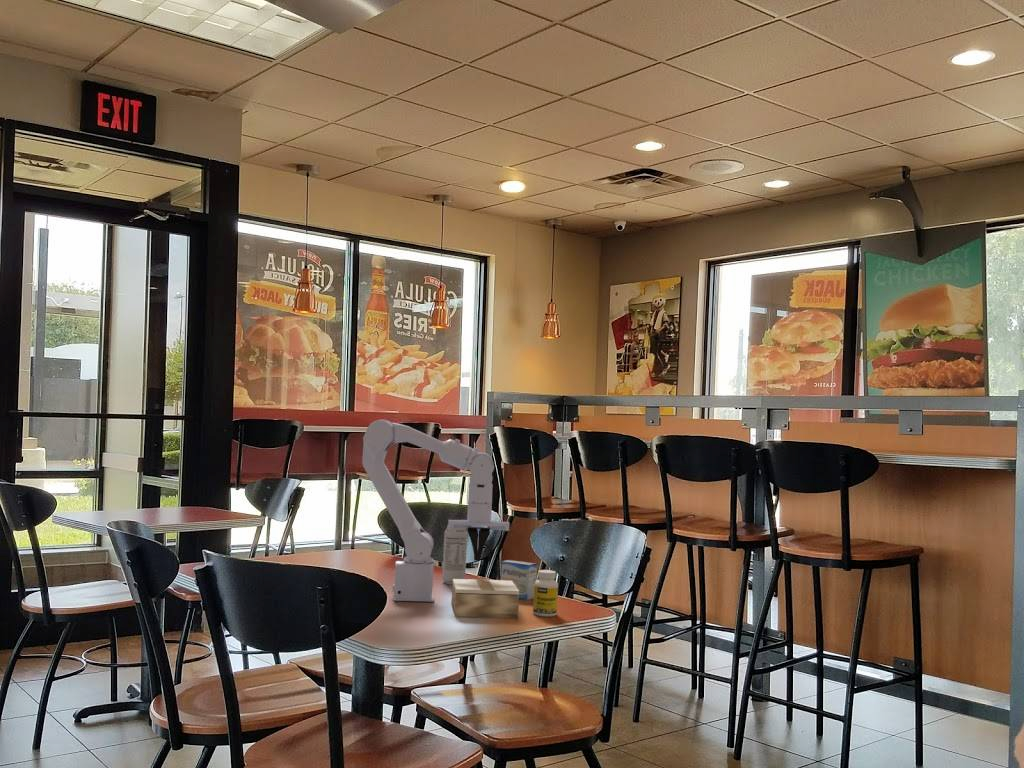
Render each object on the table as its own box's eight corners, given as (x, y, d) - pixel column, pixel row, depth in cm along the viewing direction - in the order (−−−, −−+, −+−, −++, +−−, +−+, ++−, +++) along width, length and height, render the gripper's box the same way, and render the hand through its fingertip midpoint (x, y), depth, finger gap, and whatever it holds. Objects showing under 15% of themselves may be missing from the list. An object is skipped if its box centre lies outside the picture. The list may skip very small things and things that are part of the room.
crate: (454, 616, 207) (455, 593, 207) (451, 603, 221) (452, 582, 221) (517, 618, 208) (519, 595, 209) (510, 605, 222) (511, 584, 223)
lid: (455, 592, 207) (456, 588, 207) (452, 582, 221) (452, 578, 221) (519, 594, 209) (519, 590, 209) (511, 584, 223) (511, 580, 223)
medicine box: (499, 596, 233) (501, 561, 234) (507, 593, 237) (509, 559, 238) (527, 600, 230) (529, 564, 230) (535, 598, 234) (537, 562, 234)
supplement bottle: (533, 616, 211) (535, 572, 212) (532, 611, 217) (534, 568, 217) (557, 617, 212) (559, 573, 212) (555, 612, 217) (557, 569, 217)
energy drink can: (466, 581, 251) (469, 525, 252) (462, 585, 245) (465, 527, 246) (444, 580, 252) (447, 523, 253) (440, 584, 246) (443, 526, 247)
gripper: (450, 503, 221) (447, 561, 221) (511, 505, 223) (508, 563, 222) (449, 500, 228) (446, 556, 228) (508, 502, 230) (506, 558, 229)
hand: (477, 559), depth 226 cm, fingers closed
